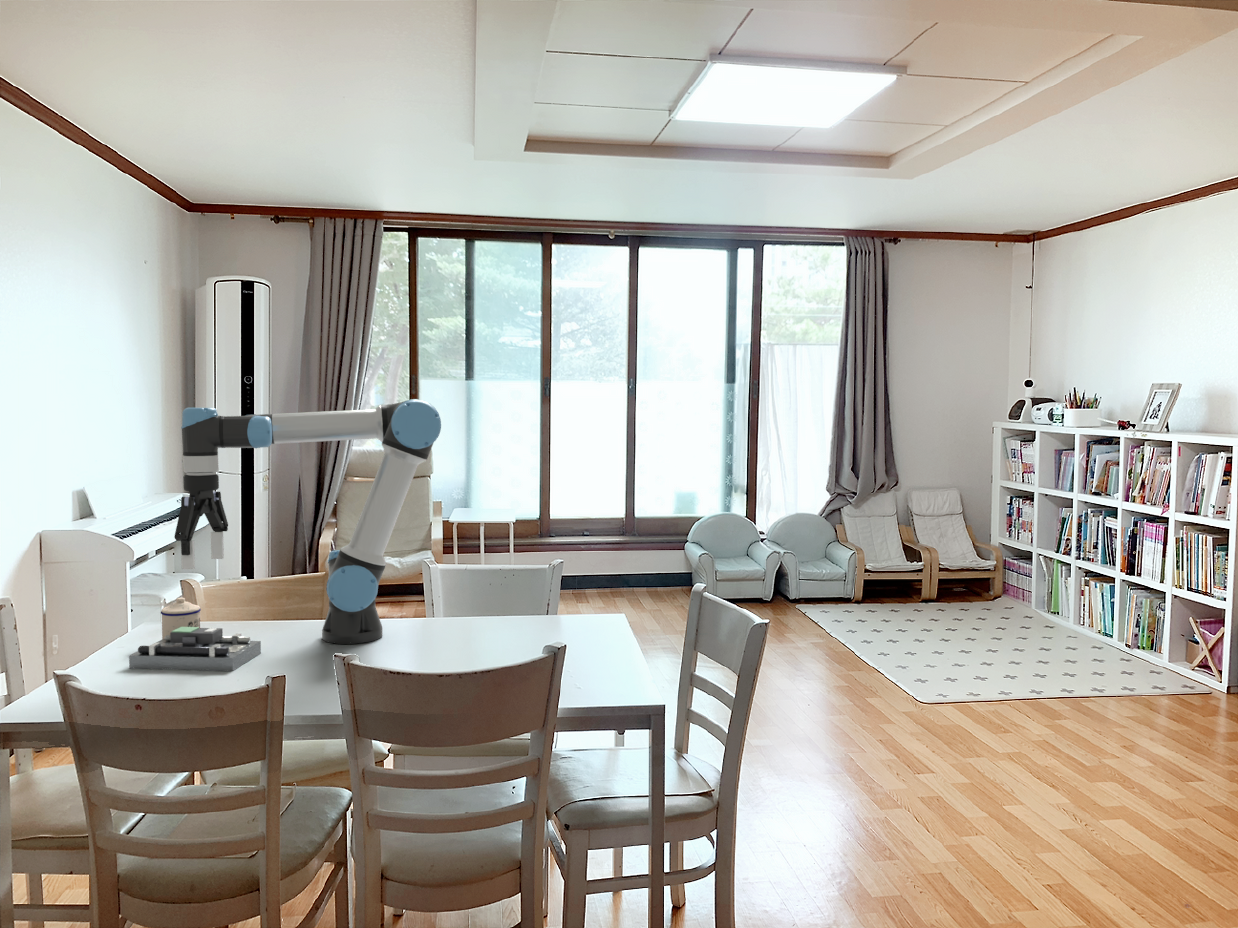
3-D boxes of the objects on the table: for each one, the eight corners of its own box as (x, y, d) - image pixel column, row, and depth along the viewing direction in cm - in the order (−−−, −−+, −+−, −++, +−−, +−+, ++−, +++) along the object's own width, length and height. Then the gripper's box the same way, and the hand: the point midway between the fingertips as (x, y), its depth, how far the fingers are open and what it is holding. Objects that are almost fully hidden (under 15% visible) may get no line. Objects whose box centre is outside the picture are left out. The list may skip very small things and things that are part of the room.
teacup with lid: (189, 649, 229) (188, 602, 229) (153, 648, 230) (152, 601, 229) (213, 637, 241) (213, 592, 241) (179, 636, 242) (178, 591, 241)
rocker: (222, 638, 222) (222, 627, 222) (212, 643, 217) (212, 632, 217) (181, 637, 222) (181, 626, 222) (170, 642, 217) (170, 631, 217)
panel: (260, 653, 227) (260, 626, 226) (232, 670, 212) (232, 642, 211) (163, 650, 228) (163, 624, 227) (129, 668, 213) (128, 640, 212)
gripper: (211, 469, 231) (214, 554, 232) (155, 477, 206) (158, 573, 207) (241, 469, 230) (243, 554, 232) (188, 478, 205) (191, 573, 207)
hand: (203, 563), depth 219 cm, fingers open, 13 cm apart
